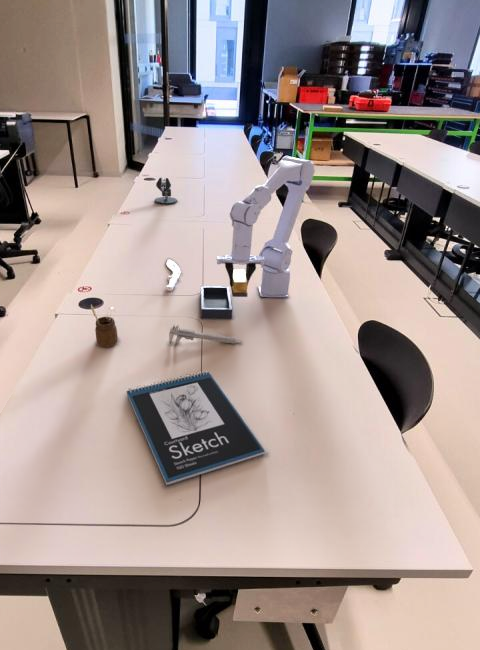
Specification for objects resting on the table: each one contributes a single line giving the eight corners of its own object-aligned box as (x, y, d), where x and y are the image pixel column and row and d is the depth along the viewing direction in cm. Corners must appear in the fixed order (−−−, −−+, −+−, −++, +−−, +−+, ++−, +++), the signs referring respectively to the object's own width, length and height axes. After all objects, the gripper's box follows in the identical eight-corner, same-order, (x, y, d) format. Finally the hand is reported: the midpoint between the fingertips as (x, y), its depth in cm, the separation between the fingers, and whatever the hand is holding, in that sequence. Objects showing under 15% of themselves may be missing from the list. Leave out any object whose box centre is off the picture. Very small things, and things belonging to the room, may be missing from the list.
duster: (243, 282, 145) (244, 268, 142) (247, 297, 136) (248, 282, 133) (229, 281, 145) (230, 268, 142) (232, 296, 136) (233, 282, 133)
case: (228, 295, 152) (228, 286, 151) (231, 318, 139) (232, 309, 137) (200, 294, 152) (200, 286, 150) (201, 318, 138) (201, 309, 137)
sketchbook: (166, 486, 84) (166, 479, 83) (125, 394, 106) (125, 387, 105) (264, 454, 91) (265, 447, 90) (207, 374, 114) (207, 367, 113)
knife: (168, 256, 178) (187, 258, 177) (168, 260, 178) (187, 262, 178) (150, 285, 152) (172, 287, 152) (150, 290, 153) (172, 291, 152)
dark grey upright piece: (152, 207, 237) (151, 182, 230) (155, 198, 254) (155, 174, 247) (176, 208, 238) (175, 183, 231) (177, 198, 254) (177, 175, 247)
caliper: (169, 345, 125) (168, 326, 122) (169, 343, 126) (168, 324, 122) (240, 343, 127) (241, 325, 123) (239, 341, 128) (241, 323, 124)
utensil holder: (118, 347, 123) (114, 309, 116) (95, 348, 122) (90, 310, 116) (118, 336, 128) (114, 299, 121) (96, 337, 127) (91, 300, 120)
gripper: (218, 248, 128) (216, 290, 136) (267, 249, 129) (262, 290, 137) (217, 239, 134) (215, 280, 142) (264, 240, 135) (259, 281, 143)
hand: (238, 285), depth 140 cm, fingers closed on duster, 4 cm apart
